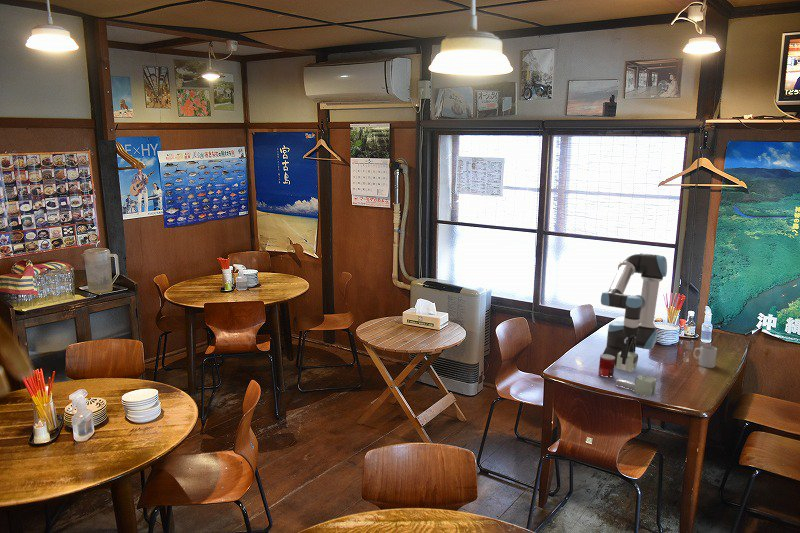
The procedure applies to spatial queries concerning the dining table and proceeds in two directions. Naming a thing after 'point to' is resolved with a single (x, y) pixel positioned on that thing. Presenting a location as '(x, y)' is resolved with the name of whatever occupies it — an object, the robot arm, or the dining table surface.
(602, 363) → the canned food
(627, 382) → the pale grey block
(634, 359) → the beige hollow box
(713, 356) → the mug
